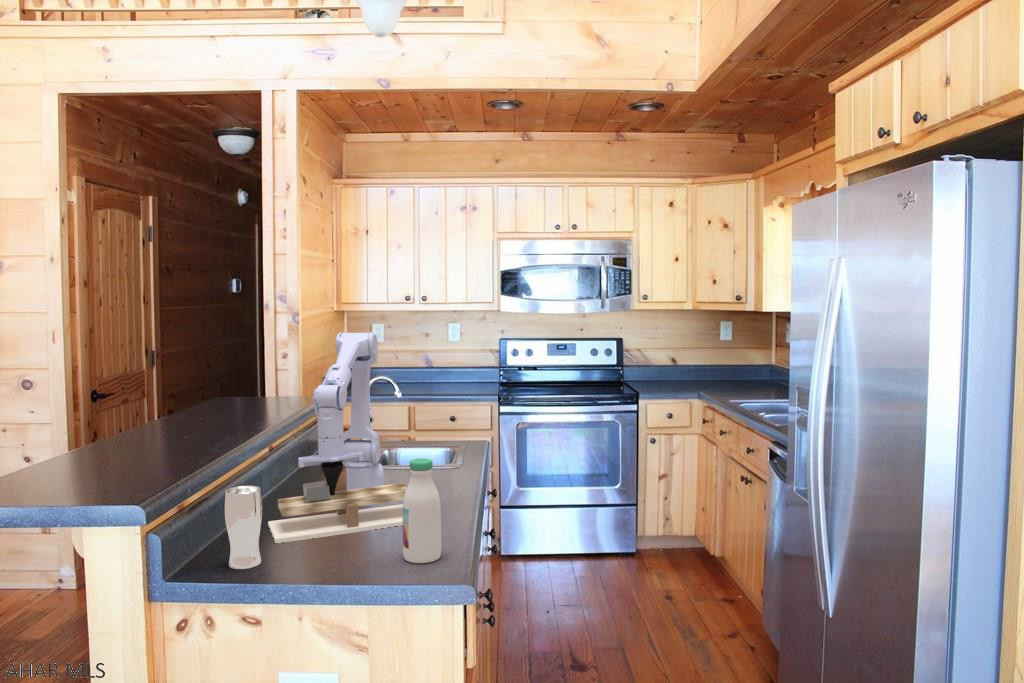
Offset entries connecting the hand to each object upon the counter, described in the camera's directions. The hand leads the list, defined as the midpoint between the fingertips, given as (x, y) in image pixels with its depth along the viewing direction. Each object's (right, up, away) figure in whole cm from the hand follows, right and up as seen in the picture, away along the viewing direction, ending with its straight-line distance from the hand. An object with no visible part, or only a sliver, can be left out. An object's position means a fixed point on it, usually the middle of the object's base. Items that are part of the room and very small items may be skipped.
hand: (332, 494), depth 168 cm
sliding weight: (-3, -1, -1) cm, 4 cm away
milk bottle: (+23, -9, -21) cm, 32 cm away
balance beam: (+3, -2, +2) cm, 4 cm away
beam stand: (+3, -7, +2) cm, 8 cm away
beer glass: (-12, -9, -23) cm, 28 cm away
